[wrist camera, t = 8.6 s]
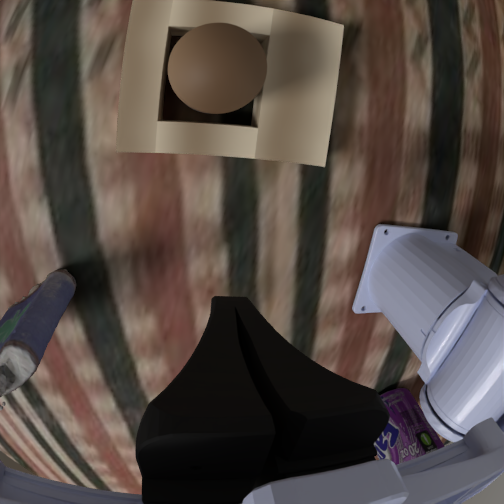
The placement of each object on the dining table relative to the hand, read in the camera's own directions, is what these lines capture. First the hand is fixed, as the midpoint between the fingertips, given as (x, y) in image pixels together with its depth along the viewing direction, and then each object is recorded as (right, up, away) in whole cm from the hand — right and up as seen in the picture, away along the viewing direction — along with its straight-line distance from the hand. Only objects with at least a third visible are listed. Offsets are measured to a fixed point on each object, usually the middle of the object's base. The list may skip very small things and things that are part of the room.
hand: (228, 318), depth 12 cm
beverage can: (+17, -16, +23) cm, 33 cm away
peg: (-2, +13, +5) cm, 14 cm away
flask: (-16, -1, +10) cm, 19 cm away
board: (-1, +13, +5) cm, 14 cm away
